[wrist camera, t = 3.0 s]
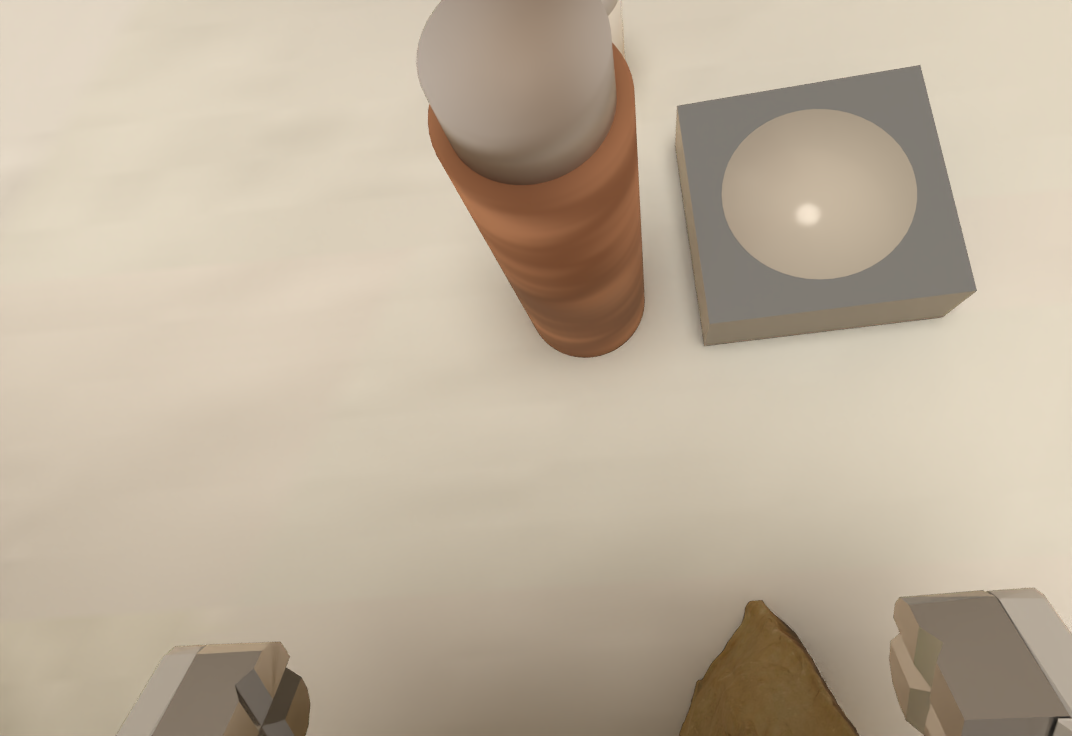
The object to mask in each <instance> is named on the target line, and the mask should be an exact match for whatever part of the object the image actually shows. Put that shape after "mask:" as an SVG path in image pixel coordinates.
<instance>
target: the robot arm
mask: <svg viewBox="0 0 1072 736" xmlns="http://www.w3.org/2000/svg"><path fill="white" fill-rule="evenodd" d="M893 618H894V621H895V623H896V625H897V627H898V630H899V632H900V633H899V634H898V635H897V636H896V637H895V638H894V639H892V640H891V641H890V655H889V661H890V668H891V675H892V682H893V685H894V689H895V692H896V695H897V699H898V702H899V704H900V707H901V709H902V712H903V714H904V717H905V720H906V721H907V722H909V723H910V724H911V725H912V726H913V727H915V728H916V729H917V730H918V731H920V732H921V733H922V734H923V735H924V736H1072V634H1071V632H1070V631H1069V629H1068V628H1067V627H1066V625H1065V624H1064V622H1063V621H1062V619H1061V618H1060V617H1059V615H1058V614H1057V612H1056V611H1055V610H1054V608H1053V607H1052V605H1051V604H1050V602H1049V601H1048V600H1047V598H1046V597H1045V595H1044V594H1042V593H1041V592H1040V591H1038V590H1037V589H1035V588H1021V589H1007V590H993V591H986V592H985V591H983V590H980V591H968V592H956V593H943V594H931V595H919V596H907V597H899V598H898V600H897V601H896V603H895V607H894V615H893ZM289 658H290V656H289V654H288V653H287V651H286V649H285V648H284V646H283V645H282V643H281V642H260V643H234V644H209V645H192V646H175V647H174V648H173V649H171V650H170V651H169V652H168V653H167V654H165V655H164V656H163V658H162V659H161V661H160V662H159V664H158V666H157V668H156V669H155V671H154V673H153V674H152V676H151V678H150V679H149V681H148V683H147V684H146V686H145V688H144V689H143V691H142V693H141V694H140V696H139V698H138V699H137V701H136V703H135V704H134V706H133V708H132V709H131V711H130V713H129V714H128V716H127V718H126V719H125V721H124V723H123V724H122V726H121V728H120V730H119V731H118V733H117V735H116V736H305V735H306V732H307V729H308V725H309V713H310V699H309V694H308V689H307V687H306V685H305V683H304V681H303V679H302V677H301V676H299V675H297V674H296V673H294V672H292V671H291V670H289V669H287V668H286V666H287V663H288V661H289Z"/></svg>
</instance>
